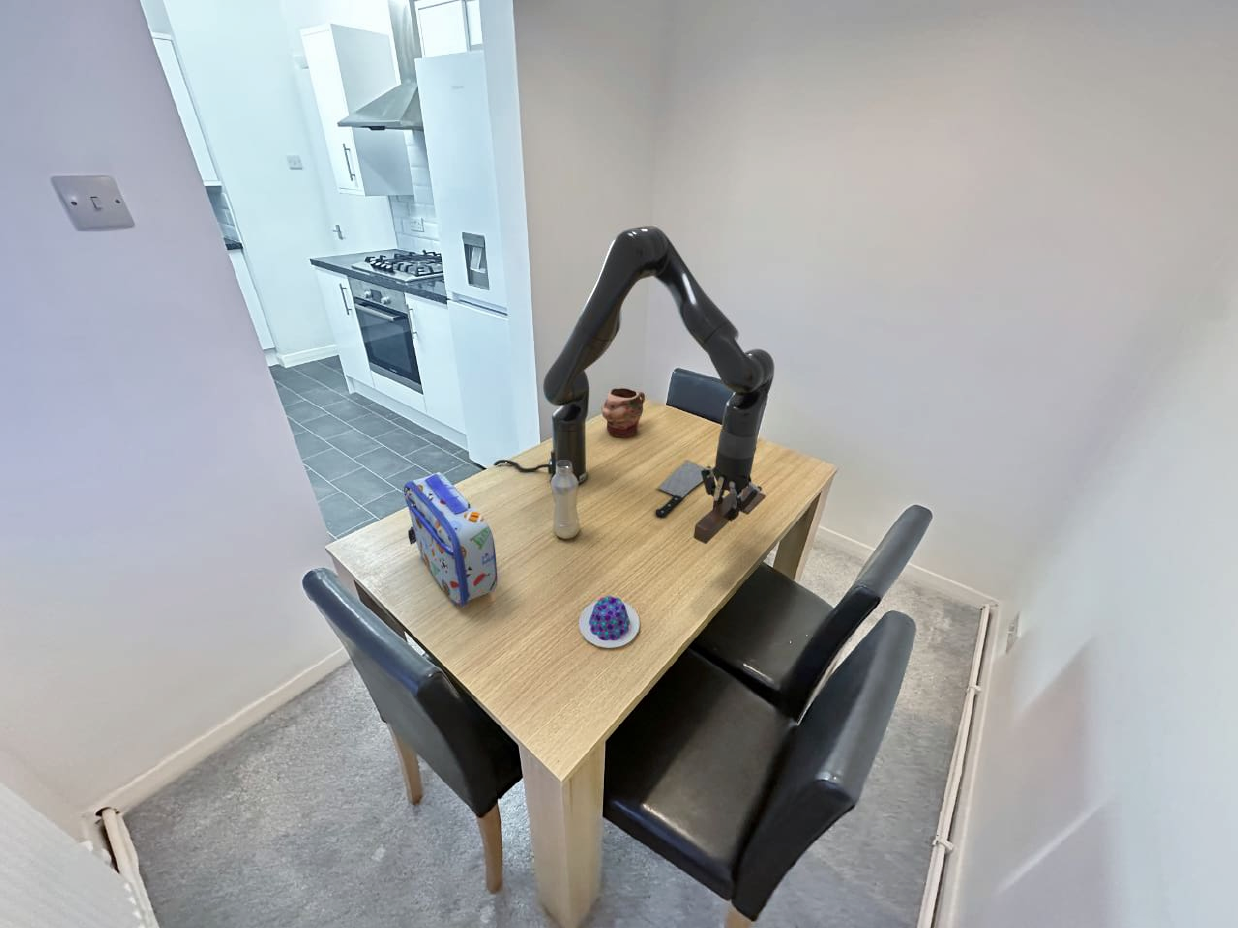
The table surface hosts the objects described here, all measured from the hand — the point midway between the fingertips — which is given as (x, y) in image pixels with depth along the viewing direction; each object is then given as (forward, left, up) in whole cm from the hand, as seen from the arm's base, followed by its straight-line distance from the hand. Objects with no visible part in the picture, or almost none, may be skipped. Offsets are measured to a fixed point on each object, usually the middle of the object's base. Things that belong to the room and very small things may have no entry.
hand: (724, 515), depth 109 cm
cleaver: (-11, +27, -12) cm, 32 cm away
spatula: (+1, +1, -1) cm, 2 cm away
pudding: (-22, -24, -12) cm, 35 cm away
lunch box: (-58, -15, -12) cm, 61 cm away
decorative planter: (-30, +60, -12) cm, 69 cm away
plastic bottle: (-37, +2, -12) cm, 39 cm away
